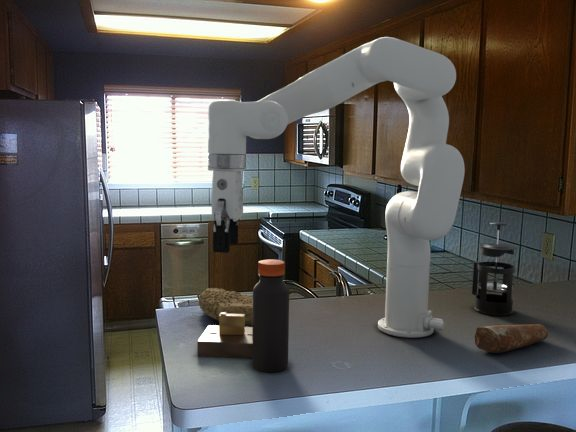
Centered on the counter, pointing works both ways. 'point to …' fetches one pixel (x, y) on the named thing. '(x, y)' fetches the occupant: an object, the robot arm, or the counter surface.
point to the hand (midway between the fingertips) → (226, 247)
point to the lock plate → (225, 343)
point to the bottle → (270, 318)
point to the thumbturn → (231, 324)
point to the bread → (508, 337)
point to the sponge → (226, 304)
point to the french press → (495, 302)
